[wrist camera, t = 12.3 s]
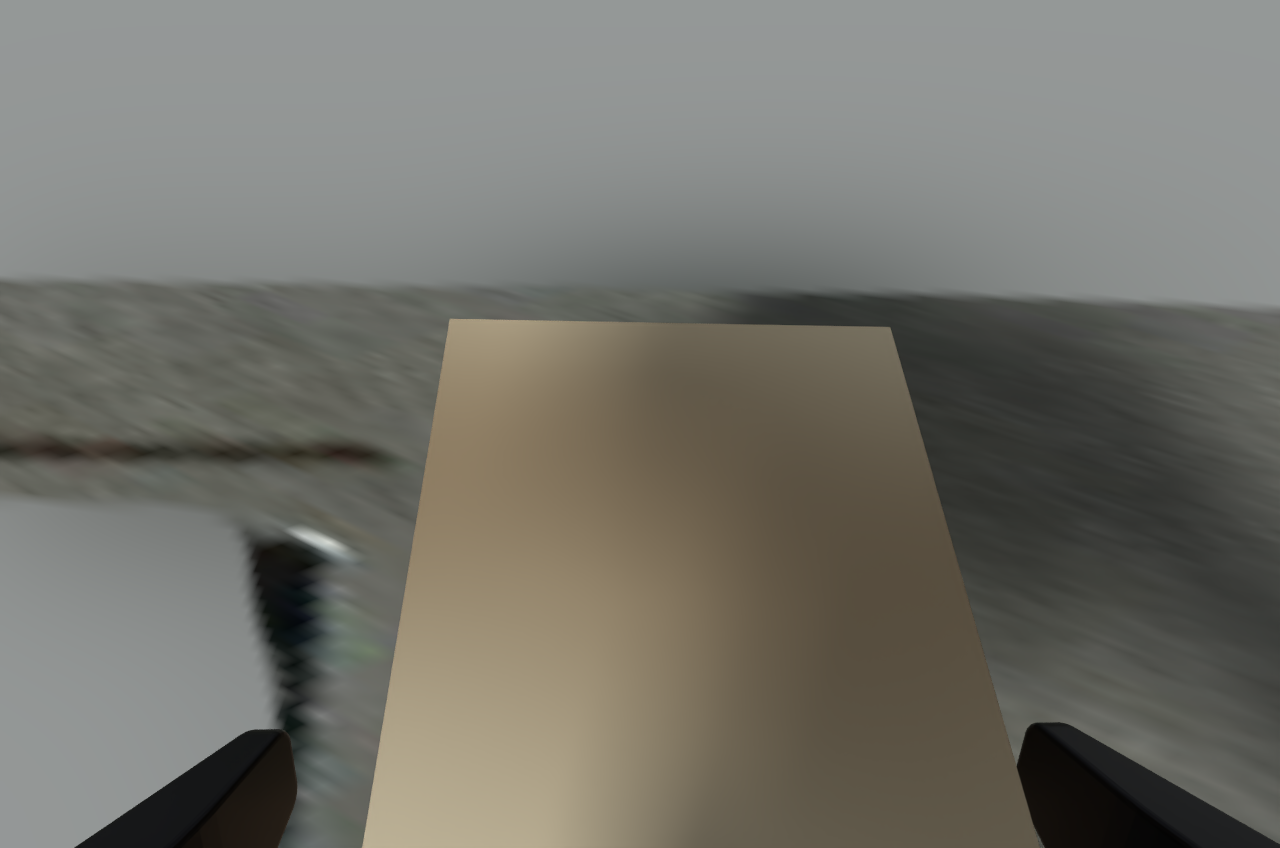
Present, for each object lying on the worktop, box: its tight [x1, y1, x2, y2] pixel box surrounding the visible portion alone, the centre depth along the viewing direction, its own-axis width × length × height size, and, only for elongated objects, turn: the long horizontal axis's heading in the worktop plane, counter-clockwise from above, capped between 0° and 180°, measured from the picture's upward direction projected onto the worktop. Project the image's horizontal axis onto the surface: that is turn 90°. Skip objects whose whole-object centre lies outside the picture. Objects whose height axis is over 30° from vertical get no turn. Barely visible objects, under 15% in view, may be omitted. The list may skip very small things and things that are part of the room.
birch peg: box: [362, 319, 1040, 848], centre depth 10 cm, size 4×4×14 cm
